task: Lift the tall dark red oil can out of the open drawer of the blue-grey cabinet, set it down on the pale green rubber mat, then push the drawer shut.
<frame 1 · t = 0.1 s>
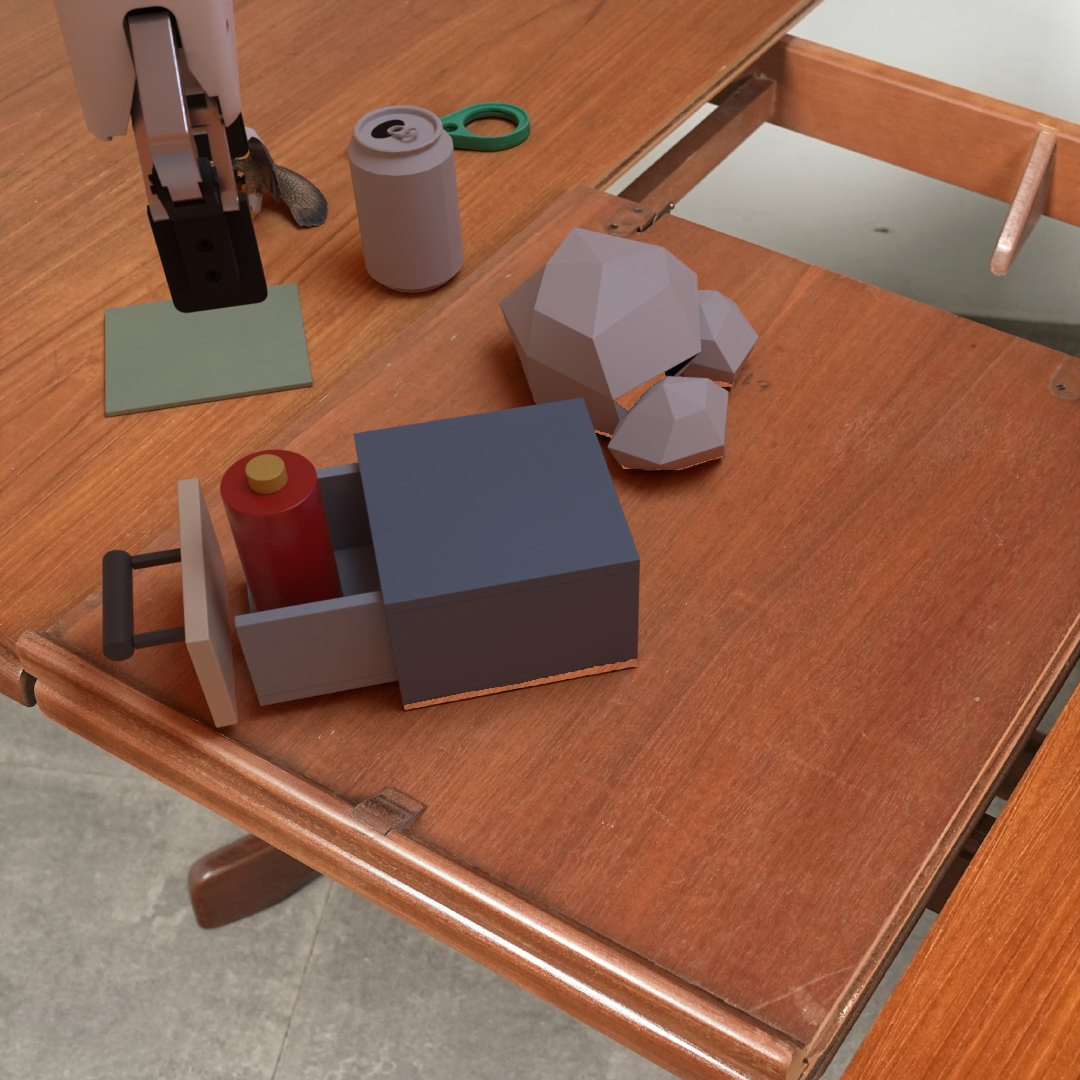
hand: (215, 226, 51), 33 cm above the table, tool pointing down, fingers open, 9 cm apart
rock: (625, 396, 96), on the table
cabinet: (500, 602, 83), on the table
drawer: (265, 590, 77), point 5 cm above the table, slide at 9.0 cm, touching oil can
can: (416, 272, 105), on the table
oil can: (303, 614, 80), point 2 cm above the table, touching drawer
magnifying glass: (443, 143, 117), on the table
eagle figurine: (272, 210, 111), on the table
mat: (206, 348, 99), on the table
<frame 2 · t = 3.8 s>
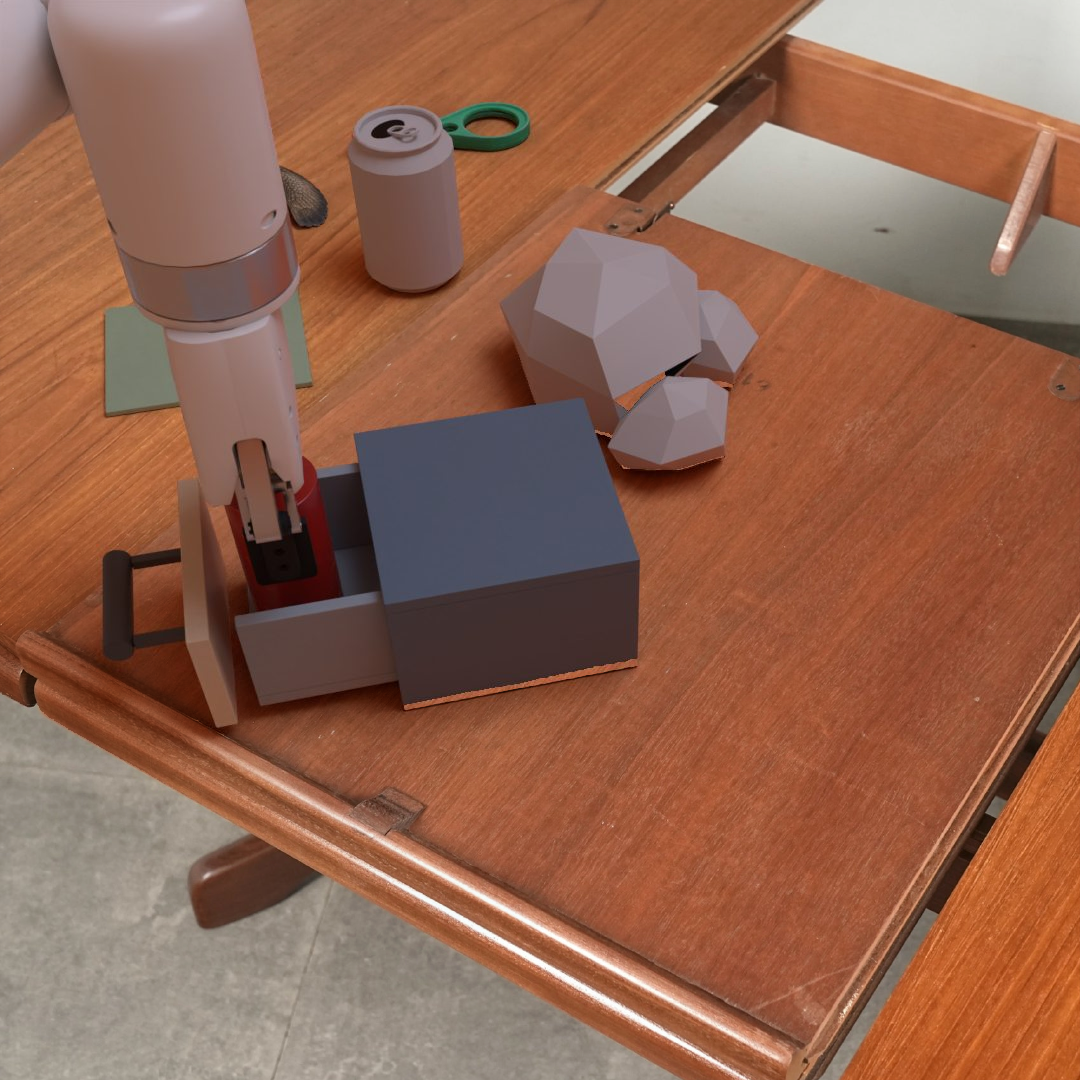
hand: (282, 537, 75), 8 cm above the table, tool pointing down, fingers closed on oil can, 5 cm apart
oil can: (303, 614, 80), point 2 cm above the table, touching drawer, gripper
everything else where it was.
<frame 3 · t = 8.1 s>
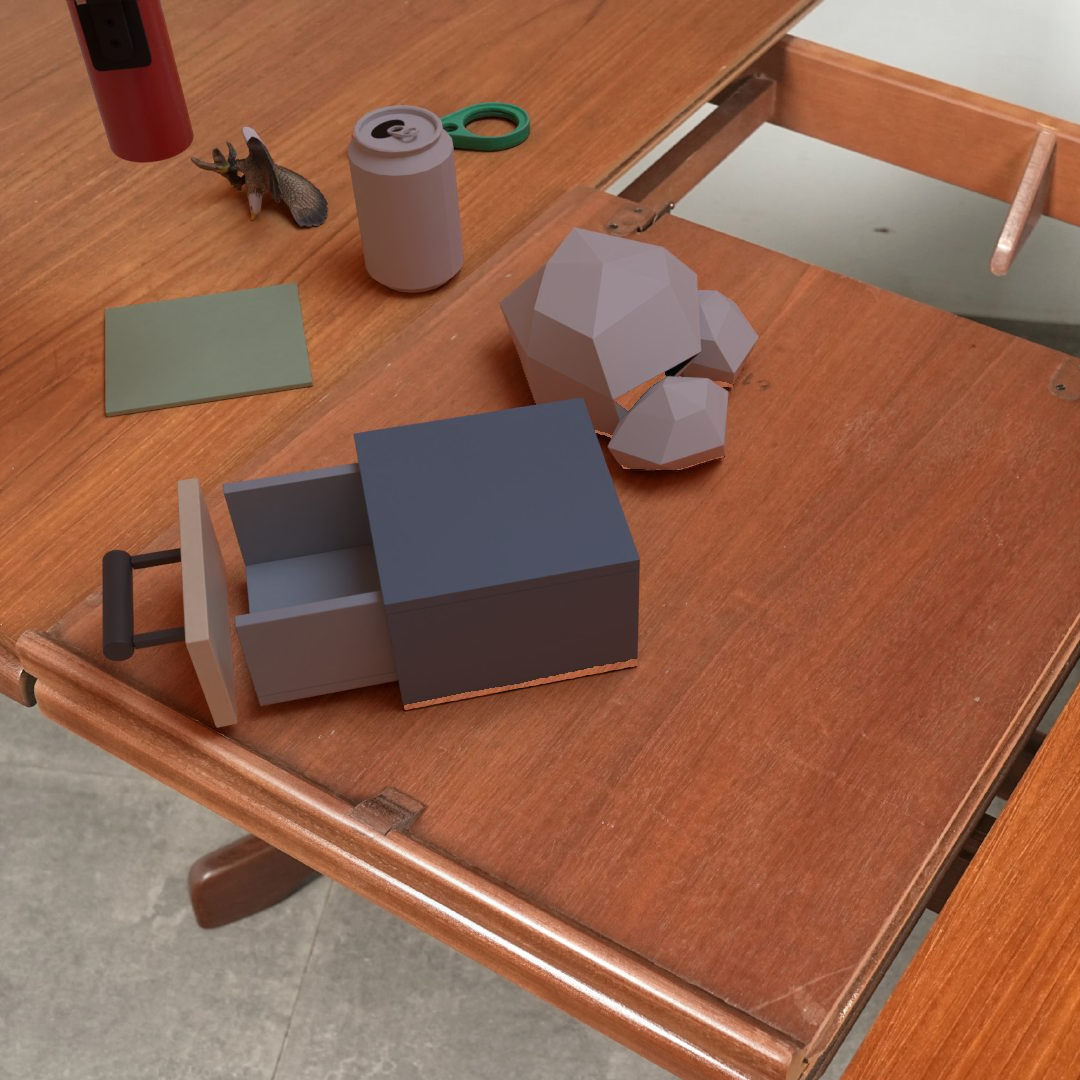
hand: (123, 39, 79), 24 cm above the table, tool pointing down, fingers closed on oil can, 5 cm apart
drawer: (265, 590, 77), point 5 cm above the table, slide at 9.0 cm
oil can: (152, 141, 84), point 17 cm above the table, touching gripper
everything else where it was.
when the fingers open (7 cm above the table, at t = 12.4 s): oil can stays where it is, resting on mat.
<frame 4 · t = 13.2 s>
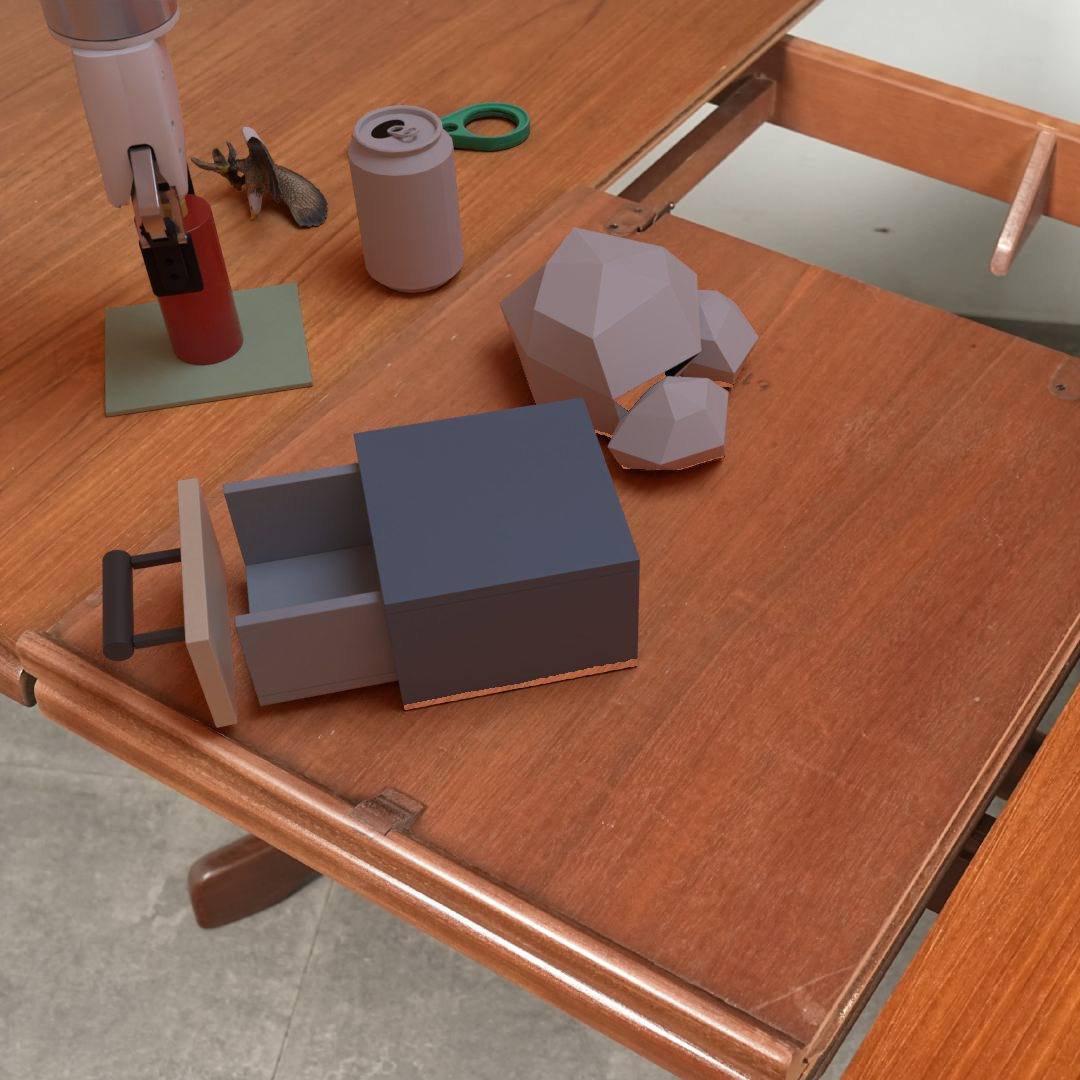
hand: (177, 249, 92), 8 cm above the table, tool pointing down, fingers open, 9 cm apart
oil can: (208, 343, 98), resting on mat
everything else where it was.
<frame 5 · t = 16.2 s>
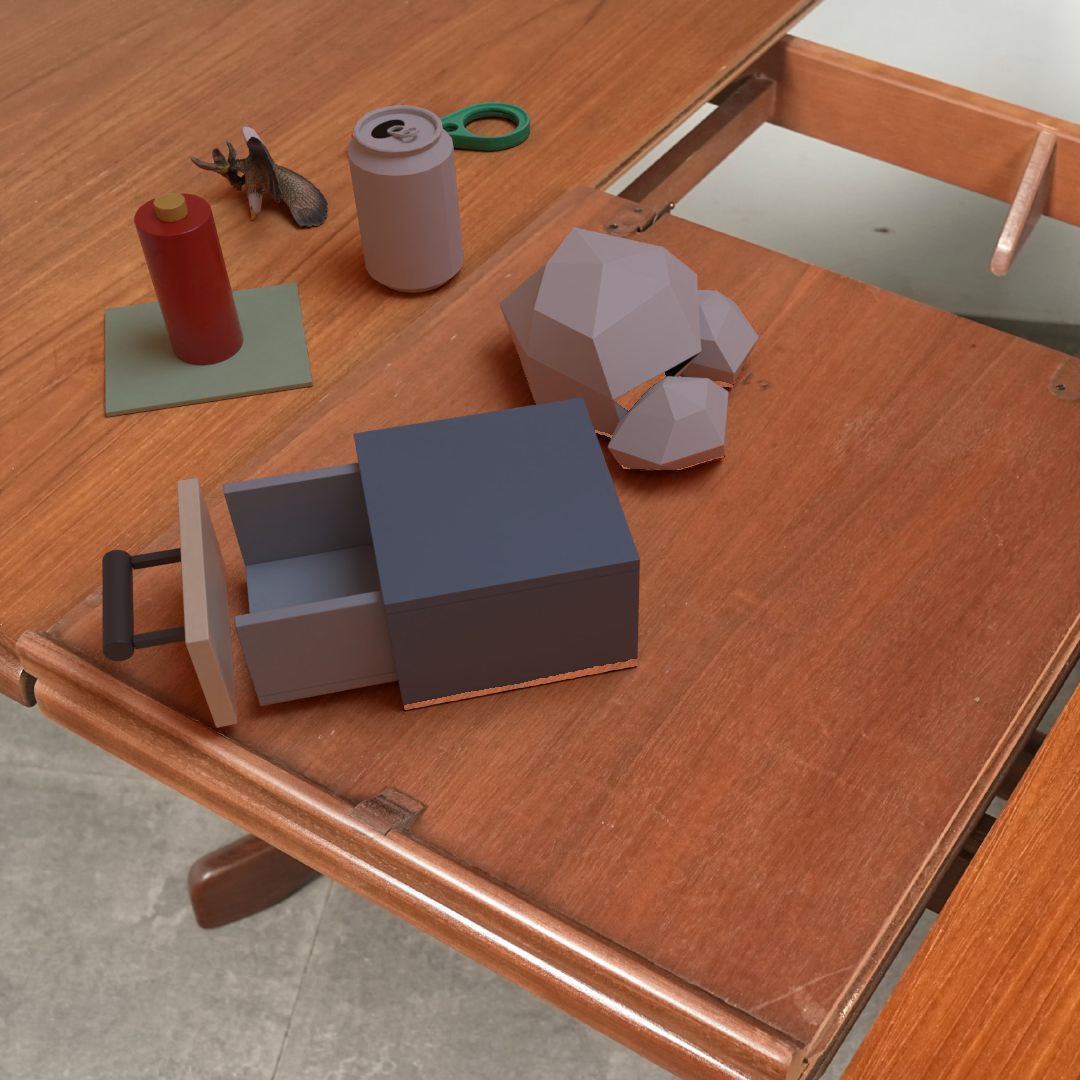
nothing on the table moved.
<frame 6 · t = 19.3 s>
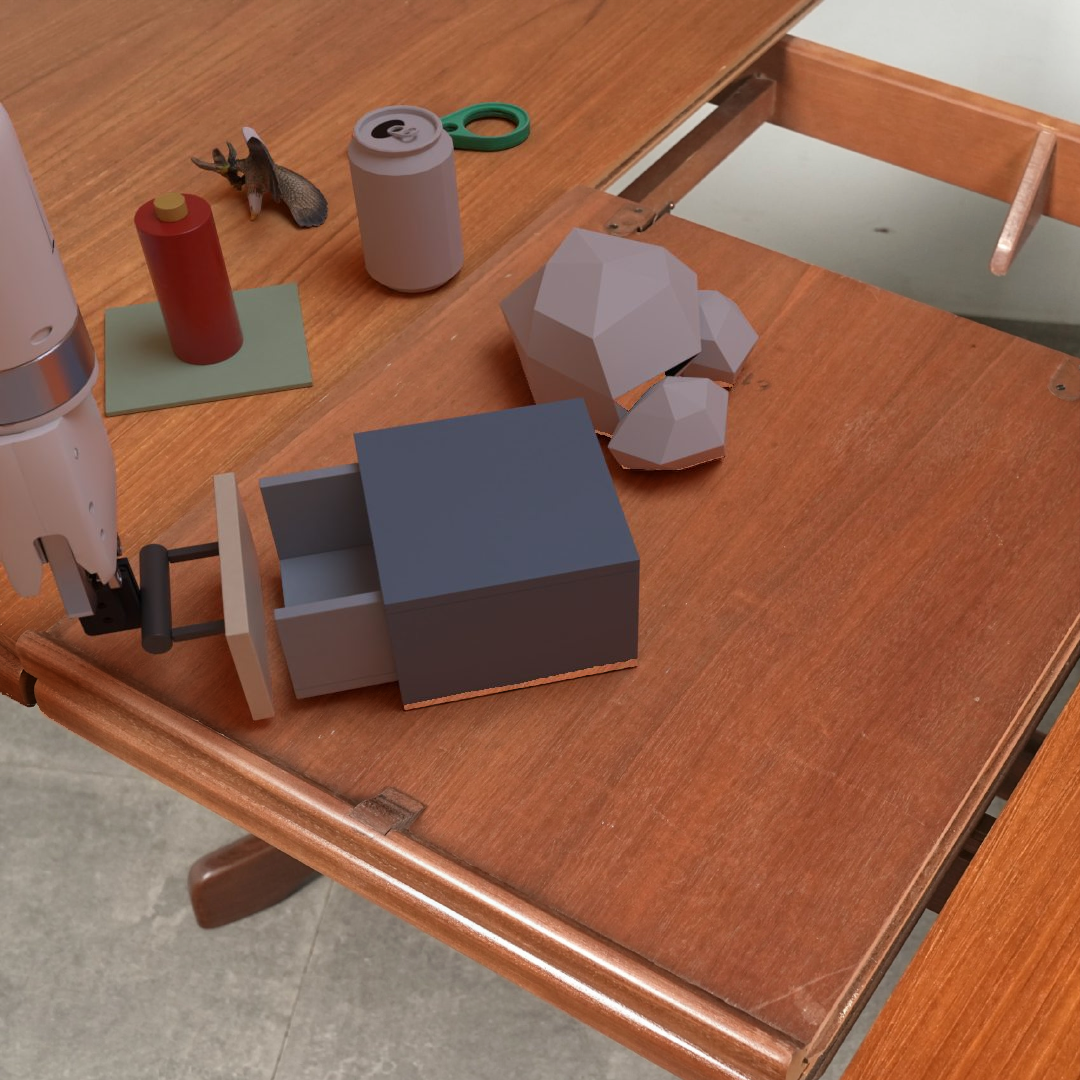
hand: (116, 621, 76), 4 cm above the table, tool pointing down, fingers closed
drawer: (301, 584, 78), point 5 cm above the table, slide at 7.0 cm, touching gripper
everything else where it was.
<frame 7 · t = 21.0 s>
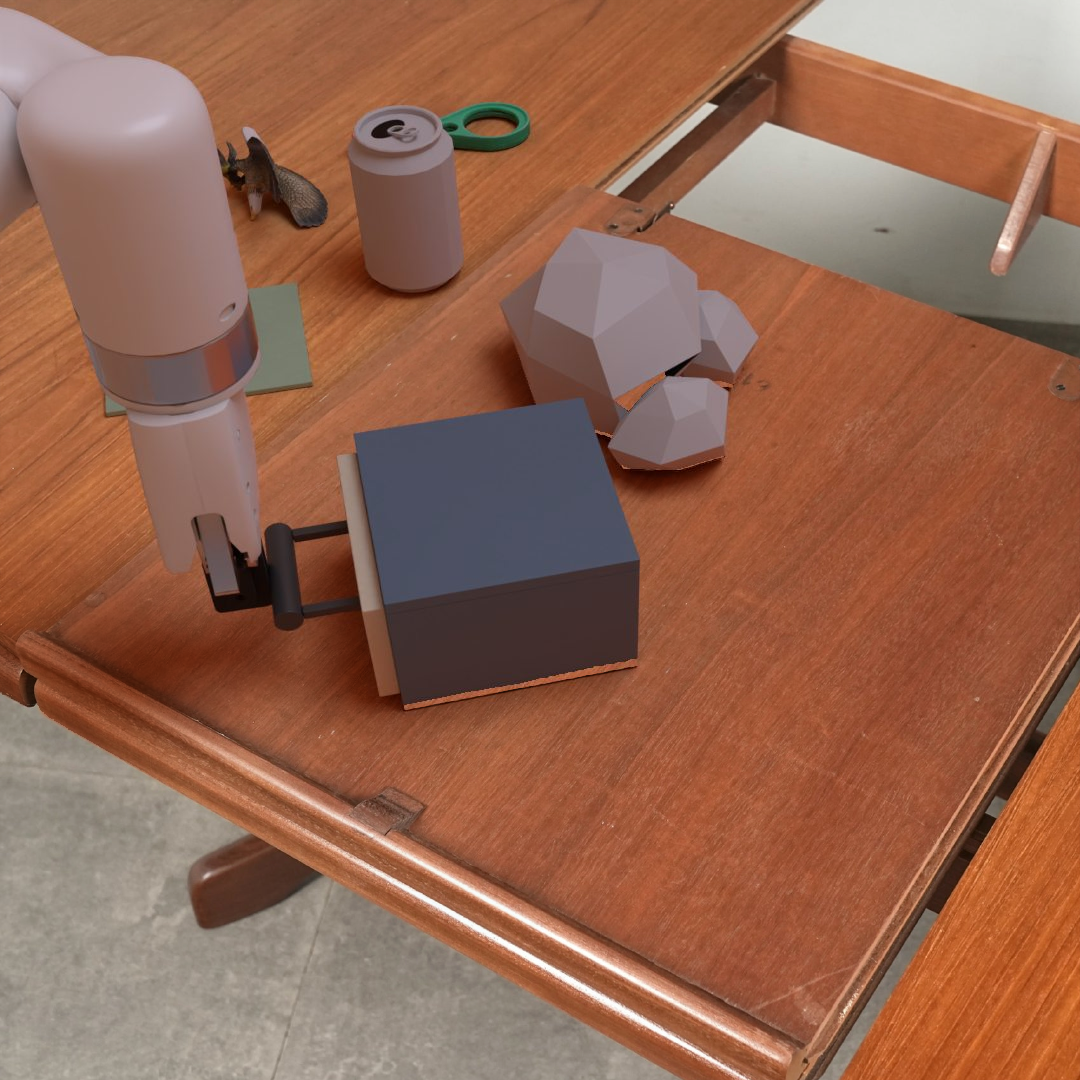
hand: (244, 598, 77), 4 cm above the table, tool pointing down, fingers closed
drawer: (424, 562, 79), point 5 cm above the table, slide at 0.0 cm, touching cabinet, gripper
everything else where it was.
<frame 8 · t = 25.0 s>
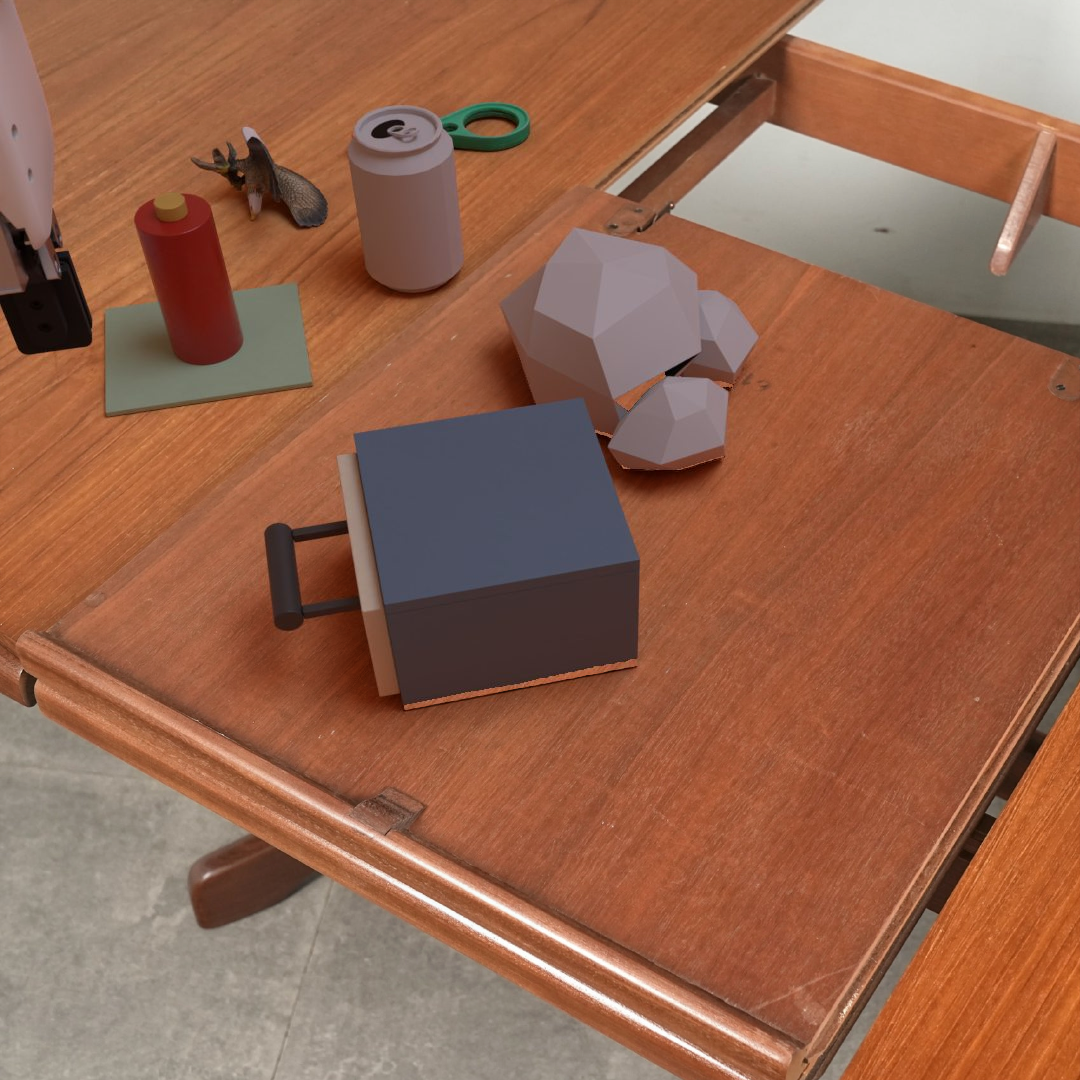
hand: (57, 339, 62), 23 cm above the table, tool pointing down, fingers closed
drawer: (424, 562, 79), point 5 cm above the table, slide at 0.0 cm, touching cabinet
everything else where it was.
at the end: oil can inside the target area on the mat (0.2 cm from its centre), point 0.4 cm above the mat's base; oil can tilted 0°; drawer slide at 0.0 cm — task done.
